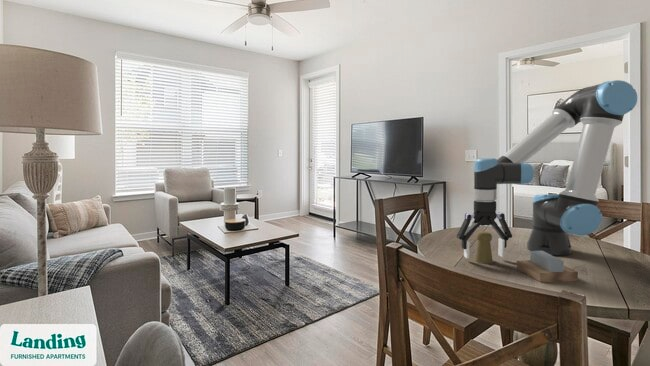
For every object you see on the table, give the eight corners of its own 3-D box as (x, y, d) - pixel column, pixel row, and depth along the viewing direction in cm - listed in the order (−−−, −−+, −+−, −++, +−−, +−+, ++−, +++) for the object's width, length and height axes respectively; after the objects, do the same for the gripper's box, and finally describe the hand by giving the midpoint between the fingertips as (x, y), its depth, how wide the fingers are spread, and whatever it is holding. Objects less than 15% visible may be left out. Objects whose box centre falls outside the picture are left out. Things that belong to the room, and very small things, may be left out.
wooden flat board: (550, 269, 115) (550, 259, 115) (577, 282, 103) (577, 271, 103) (516, 270, 115) (516, 260, 115) (540, 284, 103) (540, 273, 103)
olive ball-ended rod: (484, 264, 120) (485, 235, 119) (471, 259, 125) (471, 231, 124) (496, 262, 122) (497, 232, 121) (482, 257, 128) (483, 229, 127)
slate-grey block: (542, 260, 114) (542, 250, 114) (563, 272, 103) (563, 261, 103) (530, 260, 114) (530, 250, 114) (550, 272, 103) (550, 261, 103)
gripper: (511, 197, 126) (510, 252, 128) (447, 199, 125) (447, 254, 127) (524, 200, 118) (522, 258, 120) (456, 202, 117) (455, 261, 119)
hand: (483, 256), depth 124 cm, fingers open, 12 cm apart
